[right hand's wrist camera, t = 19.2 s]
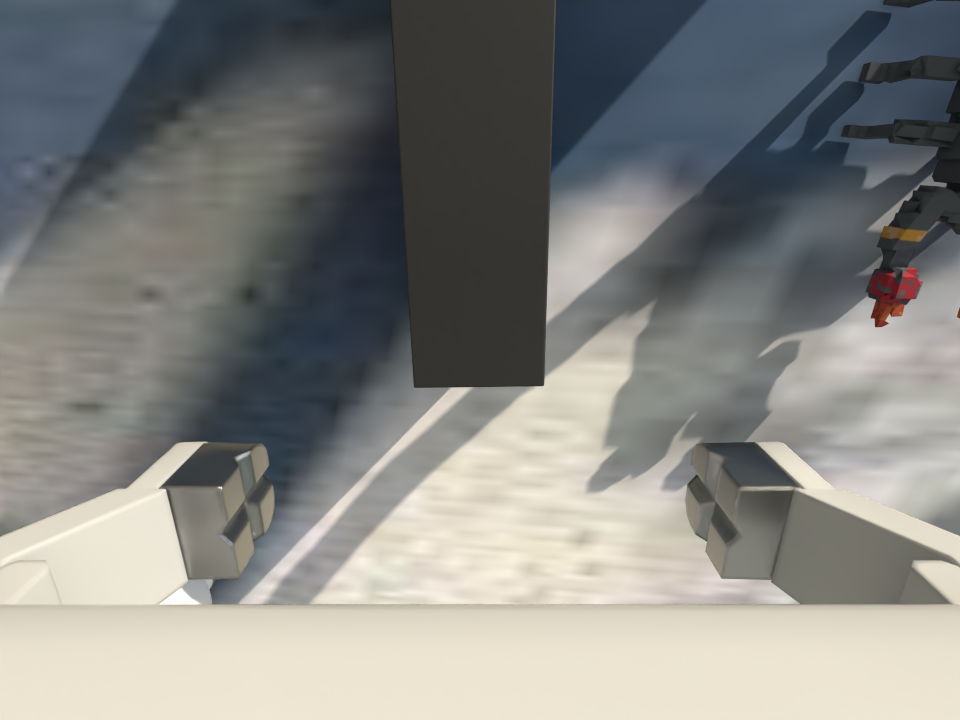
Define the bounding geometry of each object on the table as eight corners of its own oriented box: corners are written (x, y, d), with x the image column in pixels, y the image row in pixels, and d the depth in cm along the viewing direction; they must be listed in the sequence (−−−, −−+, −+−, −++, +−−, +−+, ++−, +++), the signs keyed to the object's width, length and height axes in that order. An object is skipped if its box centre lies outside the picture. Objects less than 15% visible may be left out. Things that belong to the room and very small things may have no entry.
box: (523, 315, 35) (544, 386, 24) (435, 316, 35) (413, 388, 24) (528, -60, 28) (563, -216, 16) (418, -58, 28) (376, -212, 16)
